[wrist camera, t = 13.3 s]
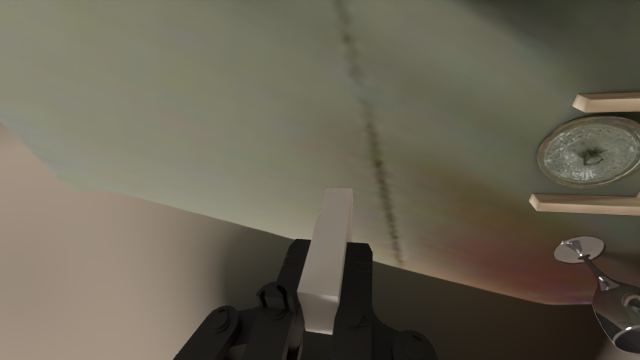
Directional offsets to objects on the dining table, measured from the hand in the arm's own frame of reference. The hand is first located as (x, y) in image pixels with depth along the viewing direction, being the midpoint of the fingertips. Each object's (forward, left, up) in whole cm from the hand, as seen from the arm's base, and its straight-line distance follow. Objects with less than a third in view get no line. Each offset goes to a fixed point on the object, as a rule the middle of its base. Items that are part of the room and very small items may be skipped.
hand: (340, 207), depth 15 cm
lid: (+9, +30, -27) cm, 41 cm away
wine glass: (+29, +38, -27) cm, 55 cm away
